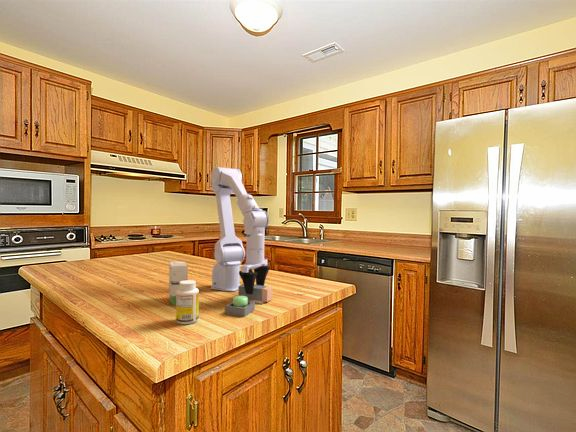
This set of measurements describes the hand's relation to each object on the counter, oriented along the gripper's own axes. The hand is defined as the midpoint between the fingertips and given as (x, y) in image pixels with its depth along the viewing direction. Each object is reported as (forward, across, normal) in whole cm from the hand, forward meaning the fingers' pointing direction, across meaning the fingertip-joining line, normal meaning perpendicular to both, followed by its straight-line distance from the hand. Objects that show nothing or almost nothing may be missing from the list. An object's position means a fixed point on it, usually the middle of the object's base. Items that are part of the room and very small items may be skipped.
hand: (254, 290), depth 99 cm
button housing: (+3, -12, -2) cm, 12 cm away
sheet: (+3, 0, 0) cm, 3 cm away
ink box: (+3, -10, +22) cm, 24 cm away
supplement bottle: (+3, -24, +8) cm, 25 cm away
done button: (+2, -12, -2) cm, 12 cm away
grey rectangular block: (+2, 0, 0) cm, 2 cm away
